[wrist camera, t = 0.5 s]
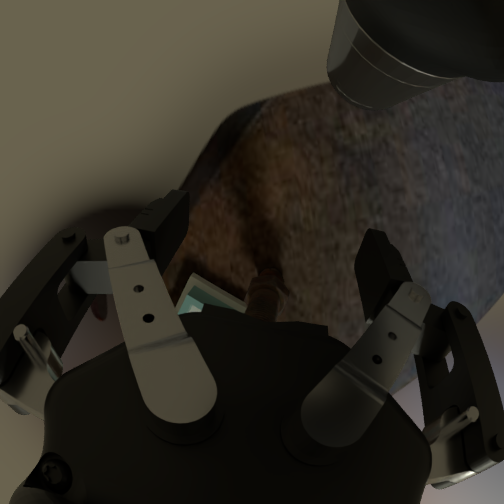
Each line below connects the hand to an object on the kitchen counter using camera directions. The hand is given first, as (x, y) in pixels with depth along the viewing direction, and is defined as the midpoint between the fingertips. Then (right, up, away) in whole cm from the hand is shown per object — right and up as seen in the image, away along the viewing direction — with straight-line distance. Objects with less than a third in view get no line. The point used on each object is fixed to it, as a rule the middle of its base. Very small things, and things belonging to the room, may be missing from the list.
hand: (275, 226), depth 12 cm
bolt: (+1, -4, +23) cm, 24 cm away
